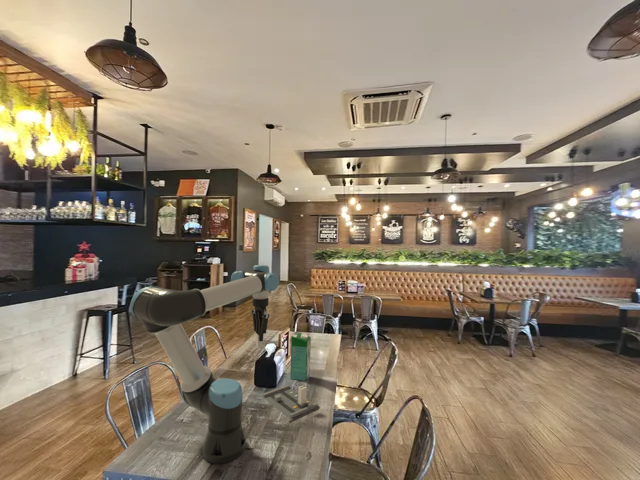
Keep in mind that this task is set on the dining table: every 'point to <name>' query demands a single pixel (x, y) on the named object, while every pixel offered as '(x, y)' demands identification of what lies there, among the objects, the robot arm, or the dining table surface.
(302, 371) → the milk carton
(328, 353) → the dining table surface
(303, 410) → the console
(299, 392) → the fader
